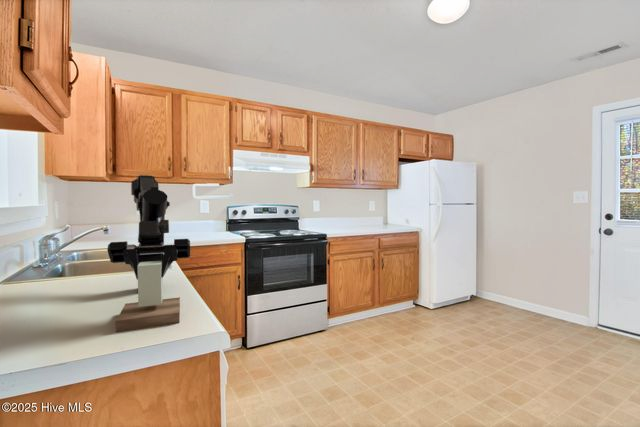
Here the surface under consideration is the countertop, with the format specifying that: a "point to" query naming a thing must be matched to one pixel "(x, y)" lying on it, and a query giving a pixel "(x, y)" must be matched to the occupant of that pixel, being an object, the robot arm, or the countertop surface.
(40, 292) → the countertop surface
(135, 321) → the walnut stand
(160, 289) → the sage block
